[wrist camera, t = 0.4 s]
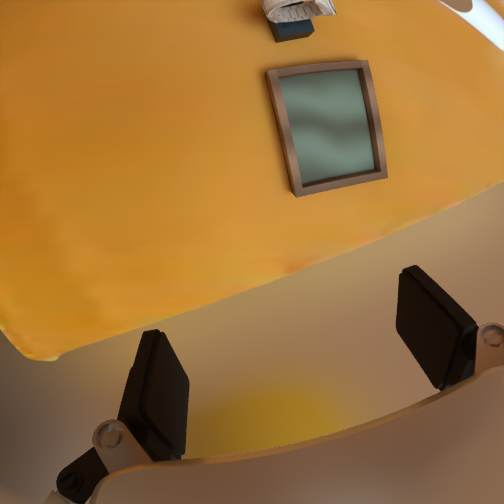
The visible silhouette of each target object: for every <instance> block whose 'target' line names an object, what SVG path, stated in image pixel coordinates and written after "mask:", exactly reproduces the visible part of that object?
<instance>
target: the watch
mask: <svg viewBox="0 0 504 504" xmlns="http://www.w3.org/2000/svg"><path fill="white" fill-rule="evenodd" d="M303 1H308V0H262V1H260V2H261V4H262V7H263V10H264V13H265V15H266V18H267V20H268V23H269V25H270V28H271V30H272V33H273V36H274V38H275V41H276V43H278V42H283V41H288V40H293V39H299V38H305V37H308V36H309V35H311V34H312V33H313V32H314V31H315V30H314V27H313V25H312V22H311V20H310V18H313V17H317V16H320V15H324V16H329V15H332V14H333V15H336V11H335V7H334V5H333V2H332V0H311V1H308V2H306V3H303ZM311 8H312V9H311Z"/></svg>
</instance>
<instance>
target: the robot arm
mask: <svg viewBox="0 0 504 504" xmlns="http://www.w3.org/2000/svg"><path fill="white" fill-rule="evenodd" d="M396 330H397V332H398V334H399V335H400V337H401V338H402V339H403V341H404V343H405V344H406V345H407V347H408V348H409V350H410V351H411V353H412V354H413V356H414V357H415V359H416V360H417V362H418V363H419V365H420V366H421V368H422V369H423V371H424V372H425V374H426V375H427V377H428V378H429V380H430V381H431V383H432V385H433V386H434V387H435V388H436V389H438V388H439V390H440V391H441V392H439V393H437V394H435V395H432V396H430V397H428V398H426V399H424V400H422V401H419V402H417V403H415V404H412V405H410V406H408V407H405V408H403V409H400V410H398V411H396V412H393V413H390V414H388V415H385V416H383V417H380V418H377V419H375V420H372V421H369V422H366V423H363V424H360V425H357V426H354V427H351V428H348V429H345V430H342V431H338V432H335V433H331V434H328V435H325V436H320V437H317V438H313V439H309V440H305V441H301V442H297V443H293V444H288V445H284V446H279V447H274V448H269V449H263V450H257V451H252V452H245V453H238V454H231V455H223V456H215V457H205V458H196V459H183V460H181V455H184V454H185V447H186V445H185V444H186V428H187V412H188V397H189V379H188V376H187V375H186V373H185V371H184V370H183V368H182V365H181V364H180V362H179V360H178V358H177V356H176V354H175V352H174V350H173V348H172V347H171V345H170V343H169V341H168V339H167V337H166V335H165V333H164V332H160V331H159V330H158V329H155V330H149V331H144V332H143V334H142V338H141V341H140V344H139V347H138V351H137V354H136V358H135V361H134V364H133V367H132V368H131V369H130V372H129V376H128V380H127V383H126V386H125V390H124V394H123V398H122V401H121V405H120V409H119V413H118V417H117V420H114V419H113V420H107V421H105V422H103V423H101V424H100V425H99V426H98V427H97V428H96V430H95V431H94V434H93V437H92V442H93V445H94V447H92V448H91V449H90V450H88V451H87V452H86V453H85V454H83V455H82V456H81V457H79V458H78V459H76V460H75V461H74V462H72V463H71V464H70V465H68V466H67V467H65V468H64V469H63V470H62V471H61V472H60V473H59V475H58V477H57V481H56V484H57V489H58V490H57V491H56V492H55V491H53V490H52V492H51V493H50V494H49V496H48V497H47V498H46V500H45V501H44V502H43V503H42V504H504V326H502V325H500V324H498V323H491V322H490V323H486V324H483V325H482V326H480V328H479V327H478V326H477V325H476V322H475V321H474V320H473V318H472V317H471V316H469V314H468V313H467V312H466V311H465V310H464V309H463V308H462V307H461V306H460V305H459V304H458V303H457V302H456V301H455V300H454V299H453V298H451V296H450V295H448V294H447V293H446V292H445V291H444V290H443V289H442V288H441V287H440V286H439V285H438V284H437V283H436V282H435V281H434V280H433V279H432V278H430V277H429V276H428V275H427V274H426V273H425V272H424V271H423V270H422V269H421V268H420V267H418V266H417V265H413V266H410V267H407V268H404V269H403V271H402V273H400V275H399V286H398V303H397V315H396Z"/></svg>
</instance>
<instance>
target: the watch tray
mask: <svg viewBox="0 0 504 504" xmlns="http://www.w3.org/2000/svg"><path fill="white" fill-rule="evenodd" d="M265 77H266V81H267V85H268V89H269V93H270V97H271V101H272V106H273V110H274V114H275V118H276V122H277V127H278V131H279V136H280V140H281V144H282V149H283V153H284V158H285V163H286V167H287V172H288V177H289V182H290V187H291V192H292V193H293V194H294V195H295V197H296V198H297V197H301V196H305V195H310V194H314V193H319V192H323V191H328V190H332V189H337V188H341V187H346V186H351V185H355V184H360V183H365V182H370V181H375V180H380V179H385V178H388V174H387V164H386V156H385V148H384V141H383V134H382V128H381V122H380V116H379V110H378V105H377V99H376V94H375V89H374V85H373V80H372V76H371V71H370V67H369V63H368V60H355V61H338V62H326V63H316V64H307V65H299V66H292V67H285V68H279V69H273V70H268V71H267V72H266V73H265Z"/></svg>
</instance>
